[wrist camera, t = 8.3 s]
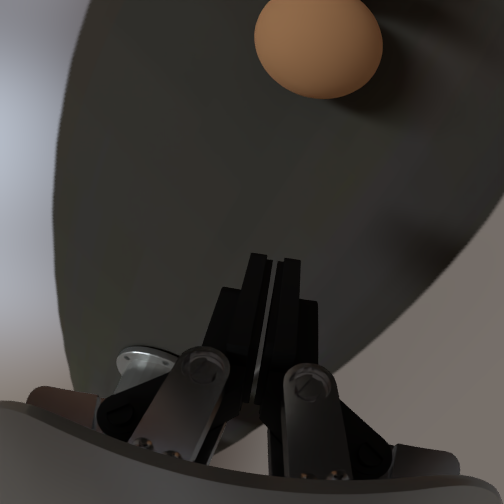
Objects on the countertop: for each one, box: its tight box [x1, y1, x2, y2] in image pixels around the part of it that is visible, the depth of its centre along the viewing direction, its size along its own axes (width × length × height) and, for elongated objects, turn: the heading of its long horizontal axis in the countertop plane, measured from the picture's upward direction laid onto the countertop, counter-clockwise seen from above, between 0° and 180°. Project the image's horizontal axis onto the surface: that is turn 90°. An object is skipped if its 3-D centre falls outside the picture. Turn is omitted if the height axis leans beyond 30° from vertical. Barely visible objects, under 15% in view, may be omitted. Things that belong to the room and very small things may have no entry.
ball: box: [254, 0, 383, 99], centre depth 12 cm, size 6×6×6 cm
